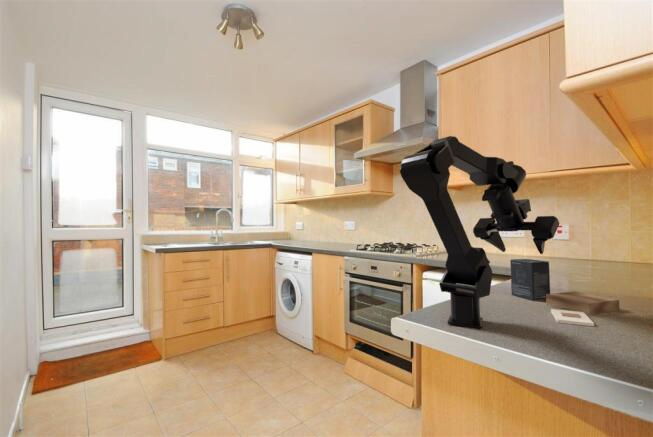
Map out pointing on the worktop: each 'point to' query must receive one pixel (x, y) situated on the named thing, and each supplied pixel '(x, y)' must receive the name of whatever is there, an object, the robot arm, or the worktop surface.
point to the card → (571, 317)
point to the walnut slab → (582, 302)
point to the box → (530, 278)
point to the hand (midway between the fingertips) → (522, 251)
